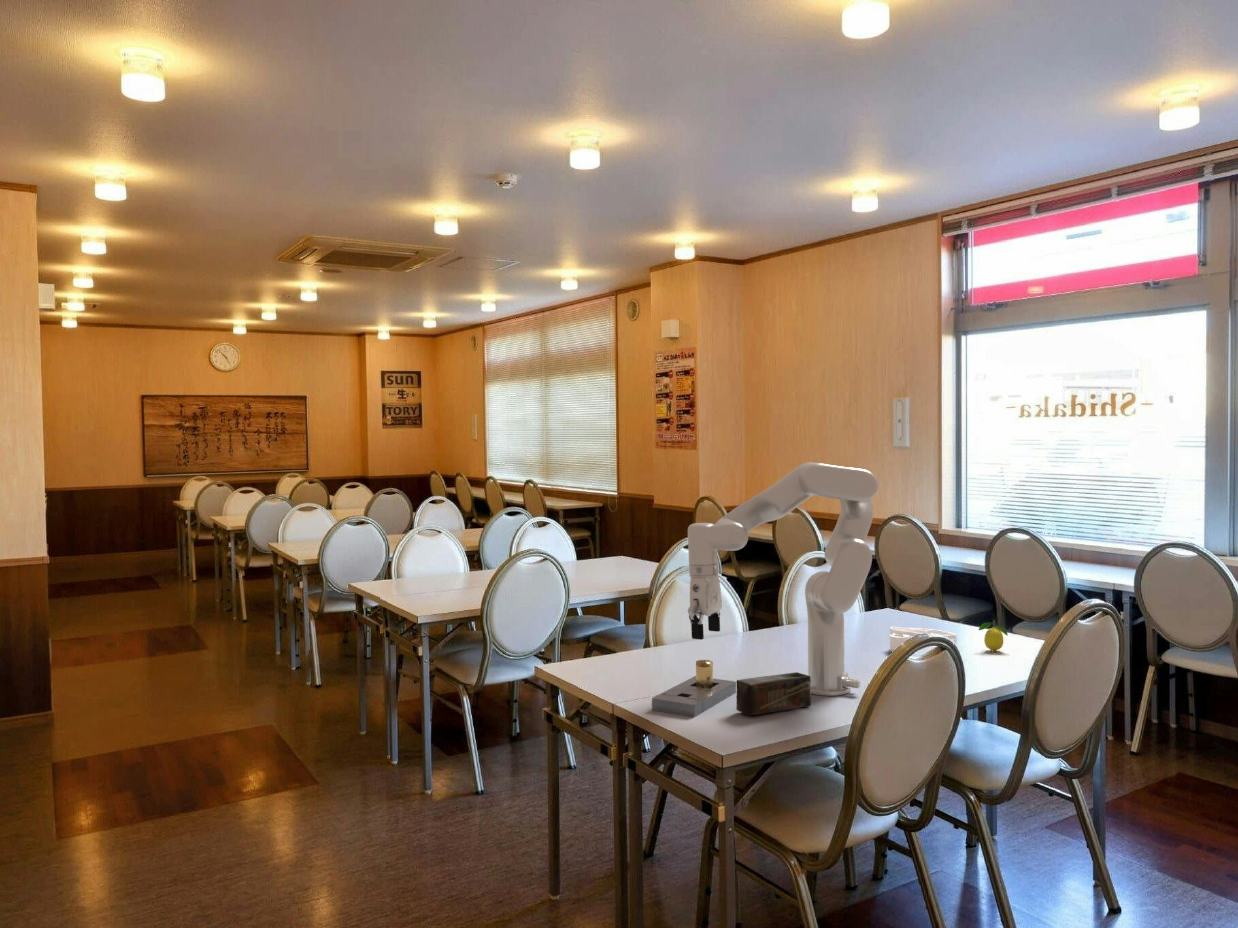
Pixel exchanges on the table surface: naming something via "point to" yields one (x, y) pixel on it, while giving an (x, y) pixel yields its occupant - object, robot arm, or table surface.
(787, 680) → the beverage carton
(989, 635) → the lemon
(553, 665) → the table surface
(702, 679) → the cylinder
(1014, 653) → the table surface
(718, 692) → the block
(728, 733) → the table surface
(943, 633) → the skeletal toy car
